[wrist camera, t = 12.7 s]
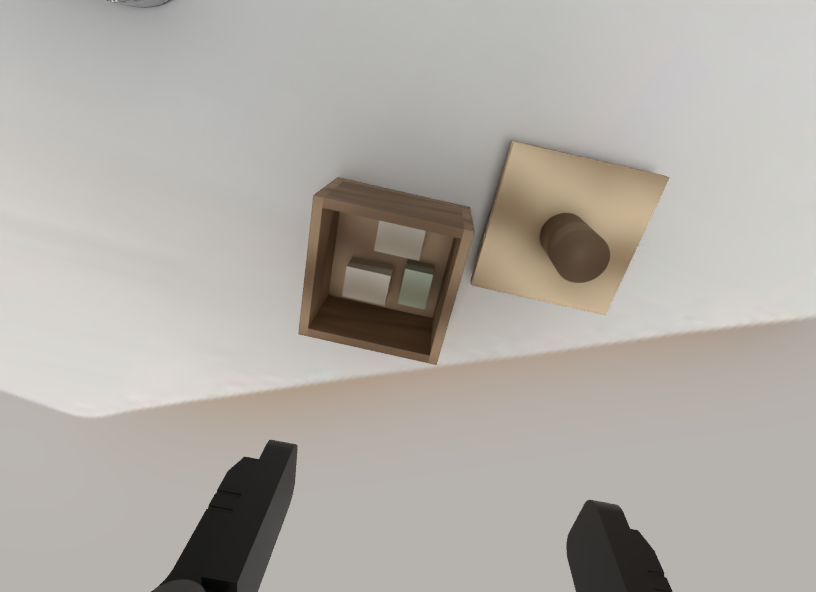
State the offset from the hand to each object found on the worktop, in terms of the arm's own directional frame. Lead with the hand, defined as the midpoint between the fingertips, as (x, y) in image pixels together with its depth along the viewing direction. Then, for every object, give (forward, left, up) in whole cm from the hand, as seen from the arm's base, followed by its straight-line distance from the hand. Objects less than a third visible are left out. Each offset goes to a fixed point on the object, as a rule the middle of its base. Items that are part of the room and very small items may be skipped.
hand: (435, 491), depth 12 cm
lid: (-3, +7, -21) cm, 23 cm away
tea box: (+2, -4, -22) cm, 22 cm away
